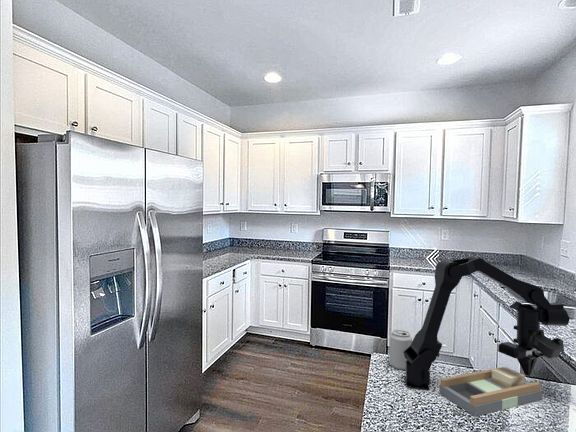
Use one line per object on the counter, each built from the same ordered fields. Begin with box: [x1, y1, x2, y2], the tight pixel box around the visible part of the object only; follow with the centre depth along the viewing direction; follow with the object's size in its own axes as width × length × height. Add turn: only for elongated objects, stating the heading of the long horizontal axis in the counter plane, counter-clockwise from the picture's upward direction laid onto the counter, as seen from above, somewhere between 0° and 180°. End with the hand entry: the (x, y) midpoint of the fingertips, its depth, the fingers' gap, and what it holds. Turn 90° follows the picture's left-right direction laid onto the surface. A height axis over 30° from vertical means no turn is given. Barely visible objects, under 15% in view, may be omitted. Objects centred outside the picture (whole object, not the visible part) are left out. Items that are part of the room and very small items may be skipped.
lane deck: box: [438, 366, 543, 417], centre depth 96 cm, size 26×12×4 cm, turn 110°
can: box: [388, 329, 413, 371], centre depth 115 cm, size 8×8×12 cm
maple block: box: [491, 366, 526, 388], centre depth 99 cm, size 6×6×4 cm
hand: (527, 375), depth 101 cm, fingers closed
